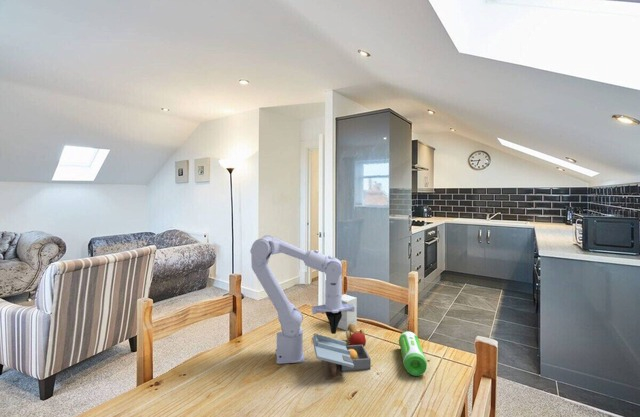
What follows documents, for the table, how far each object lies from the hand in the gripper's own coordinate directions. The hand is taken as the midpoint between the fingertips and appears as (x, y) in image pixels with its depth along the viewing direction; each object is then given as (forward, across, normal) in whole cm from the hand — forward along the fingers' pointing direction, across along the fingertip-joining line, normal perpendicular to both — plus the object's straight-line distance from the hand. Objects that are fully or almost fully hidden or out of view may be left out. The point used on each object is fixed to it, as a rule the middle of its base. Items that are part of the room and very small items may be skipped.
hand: (333, 332), depth 103 cm
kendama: (+10, +11, +12) cm, 19 cm away
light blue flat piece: (+3, -2, -6) cm, 7 cm away
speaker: (+10, +26, -5) cm, 29 cm away
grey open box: (+9, +6, -3) cm, 12 cm away
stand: (+9, -2, -6) cm, 11 cm away
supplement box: (+10, +10, +25) cm, 29 cm away
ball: (+7, +6, -3) cm, 10 cm away
